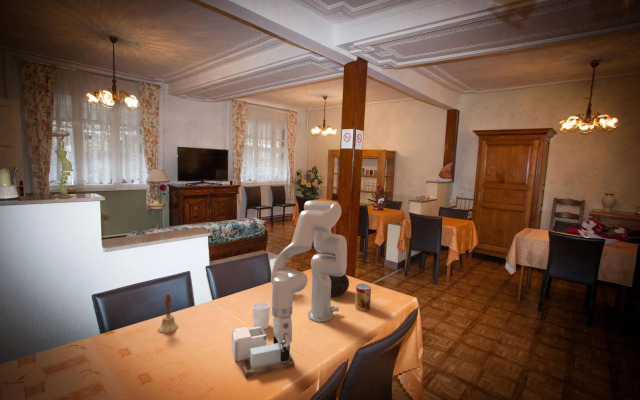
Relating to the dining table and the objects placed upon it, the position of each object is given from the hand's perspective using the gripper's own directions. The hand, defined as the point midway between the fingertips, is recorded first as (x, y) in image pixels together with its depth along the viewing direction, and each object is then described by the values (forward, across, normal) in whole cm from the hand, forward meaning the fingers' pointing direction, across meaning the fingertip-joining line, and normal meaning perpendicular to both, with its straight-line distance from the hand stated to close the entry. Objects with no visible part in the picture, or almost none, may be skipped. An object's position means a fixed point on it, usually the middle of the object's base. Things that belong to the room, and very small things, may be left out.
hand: (281, 353), depth 117 cm
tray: (+4, 0, +5) cm, 6 cm away
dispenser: (+4, +10, +10) cm, 15 cm away
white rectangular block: (+3, 0, +4) cm, 5 cm away
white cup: (+4, +29, +1) cm, 29 cm away
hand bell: (+4, +41, +40) cm, 57 cm away
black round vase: (+4, +53, -48) cm, 72 cm away
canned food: (+4, +30, -54) cm, 62 cm away
